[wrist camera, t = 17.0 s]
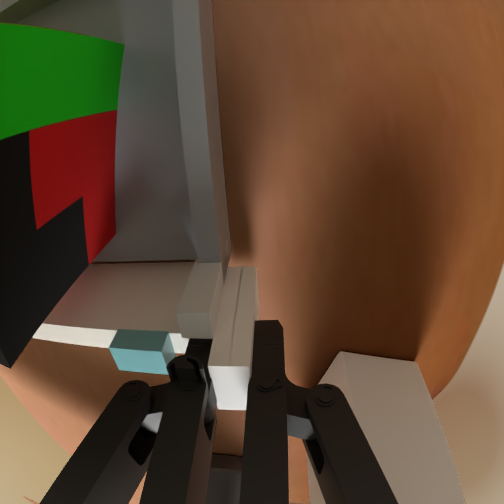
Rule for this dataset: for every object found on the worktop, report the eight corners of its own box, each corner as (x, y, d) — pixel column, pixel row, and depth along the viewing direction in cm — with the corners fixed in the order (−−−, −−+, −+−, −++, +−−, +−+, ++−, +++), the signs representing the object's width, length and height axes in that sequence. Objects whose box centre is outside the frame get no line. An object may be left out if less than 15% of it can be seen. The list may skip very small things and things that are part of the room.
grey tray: (231, 249, 17) (213, 338, 11) (-11, 258, 19) (-64, 308, 13) (209, -50, 10) (174, -122, 4) (-48, 61, 11) (-116, 74, 5)
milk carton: (302, 404, 24) (310, 621, 7) (339, 348, 21) (378, 625, 4) (373, 410, 25) (404, 599, 8) (416, 359, 21) (481, 580, 5)
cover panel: (211, 280, 18) (187, 375, 12) (2, 279, 20) (-49, 334, 13) (208, 259, 18) (180, 352, 12) (-4, 264, 19) (-58, 317, 13)
